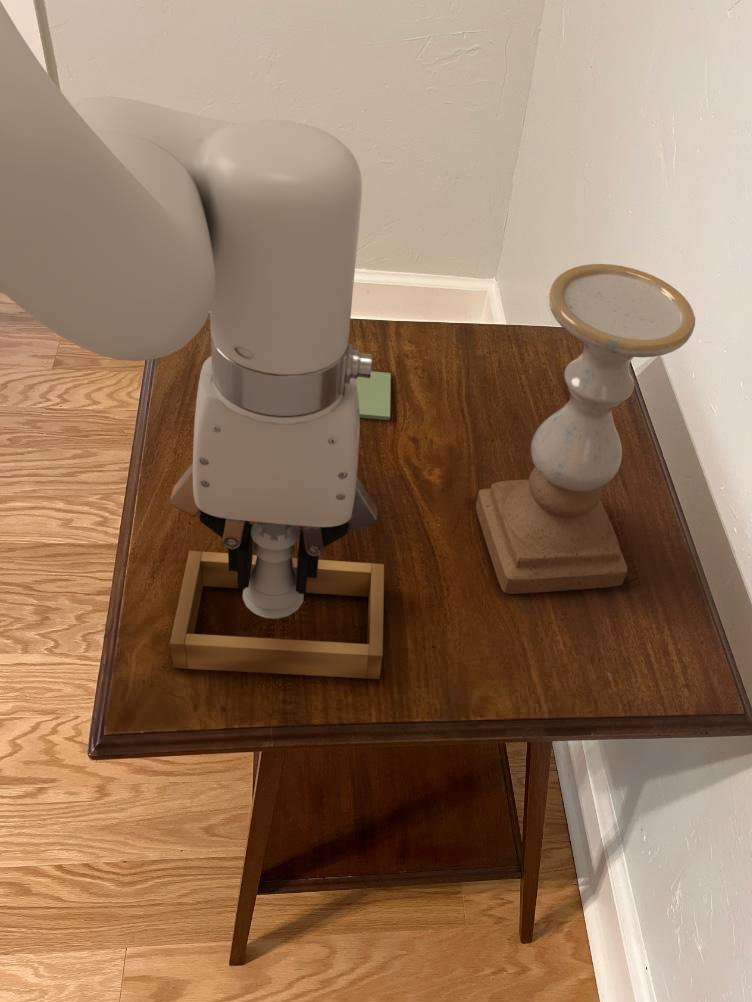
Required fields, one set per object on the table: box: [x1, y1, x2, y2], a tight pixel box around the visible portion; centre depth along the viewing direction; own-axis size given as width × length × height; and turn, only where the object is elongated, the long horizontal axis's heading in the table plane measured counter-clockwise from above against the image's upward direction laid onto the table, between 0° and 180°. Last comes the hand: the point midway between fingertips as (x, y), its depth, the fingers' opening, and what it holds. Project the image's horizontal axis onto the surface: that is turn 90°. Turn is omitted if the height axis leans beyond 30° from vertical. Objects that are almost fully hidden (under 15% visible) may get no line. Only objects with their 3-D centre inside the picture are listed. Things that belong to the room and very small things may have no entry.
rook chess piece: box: [242, 522, 305, 620], centre depth 64 cm, size 4×4×8 cm
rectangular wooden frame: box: [169, 550, 385, 680], centre depth 69 cm, size 15×9×3 cm, turn 92°
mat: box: [355, 370, 392, 421], centre depth 89 cm, size 14×7×1 cm, turn 92°
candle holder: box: [475, 263, 696, 595], centre depth 71 cm, size 11×11×24 cm
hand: (273, 575), depth 65 cm, fingers closed on rook chess piece, 3 cm apart
